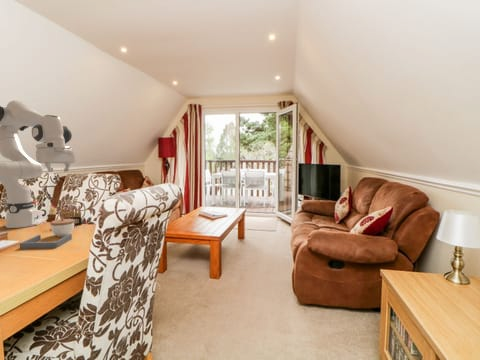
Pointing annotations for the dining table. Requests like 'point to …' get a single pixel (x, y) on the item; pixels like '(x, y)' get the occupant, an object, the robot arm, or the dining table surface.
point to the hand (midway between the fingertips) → (58, 171)
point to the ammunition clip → (72, 215)
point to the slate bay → (34, 244)
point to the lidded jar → (62, 227)
